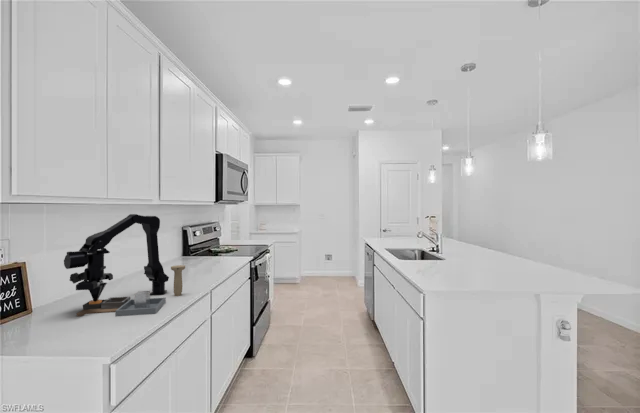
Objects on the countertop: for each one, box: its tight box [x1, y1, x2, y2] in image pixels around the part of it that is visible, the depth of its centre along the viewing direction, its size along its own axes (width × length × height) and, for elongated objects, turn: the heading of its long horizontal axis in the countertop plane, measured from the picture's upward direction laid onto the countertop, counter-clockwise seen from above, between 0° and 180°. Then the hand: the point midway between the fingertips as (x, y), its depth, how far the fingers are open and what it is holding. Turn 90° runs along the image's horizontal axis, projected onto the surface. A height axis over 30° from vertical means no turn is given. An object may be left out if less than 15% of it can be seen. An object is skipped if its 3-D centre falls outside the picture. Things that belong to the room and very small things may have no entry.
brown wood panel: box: [76, 296, 131, 317], centre depth 131 cm, size 15×16×4 cm
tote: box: [114, 297, 167, 317], centre depth 129 cm, size 15×15×3 cm
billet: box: [134, 290, 151, 309], centre depth 129 cm, size 4×4×7 cm
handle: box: [170, 264, 186, 297], centre depth 149 cm, size 5×6×15 cm
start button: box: [88, 299, 103, 304], centre depth 130 cm, size 4×4×2 cm
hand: (95, 301), depth 130 cm, fingers closed, pressing on start button
